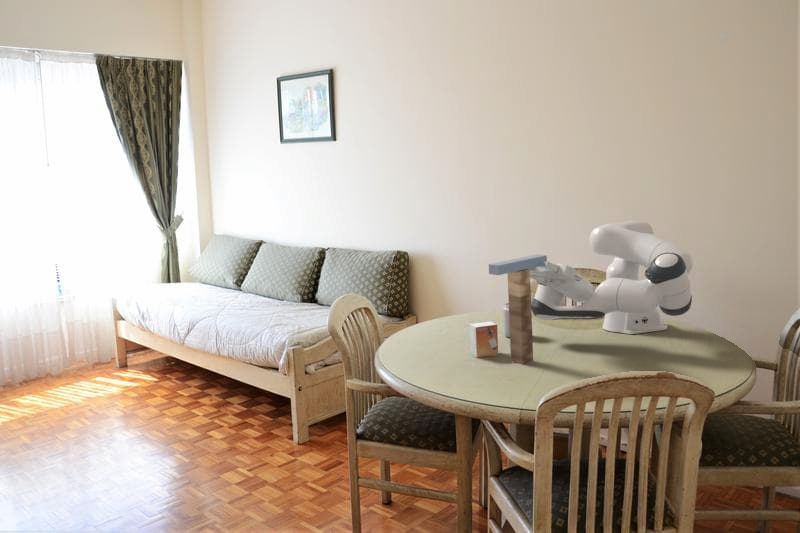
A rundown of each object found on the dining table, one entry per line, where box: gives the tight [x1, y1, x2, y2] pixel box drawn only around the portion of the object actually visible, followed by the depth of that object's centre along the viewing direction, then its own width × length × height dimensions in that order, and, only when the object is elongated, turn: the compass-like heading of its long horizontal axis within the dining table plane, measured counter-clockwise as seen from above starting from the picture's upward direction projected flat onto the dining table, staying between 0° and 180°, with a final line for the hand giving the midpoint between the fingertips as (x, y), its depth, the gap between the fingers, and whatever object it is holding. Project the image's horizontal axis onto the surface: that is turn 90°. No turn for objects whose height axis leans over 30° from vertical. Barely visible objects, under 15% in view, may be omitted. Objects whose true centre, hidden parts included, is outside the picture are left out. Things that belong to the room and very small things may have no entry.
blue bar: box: [488, 254, 548, 276], centre depth 229 cm, size 22×4×3 cm, turn 127°
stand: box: [507, 269, 534, 365], centre depth 232 cm, size 5×5×30 cm
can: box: [502, 302, 510, 338], centre depth 263 cm, size 8×8×12 cm
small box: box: [469, 320, 499, 358], centre depth 243 cm, size 8×6×10 cm
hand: (534, 262), depth 233 cm, fingers open, 8 cm apart
